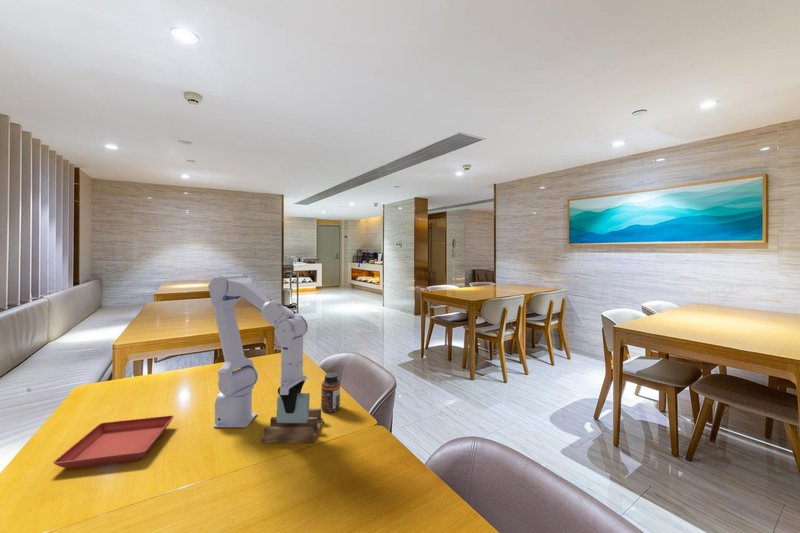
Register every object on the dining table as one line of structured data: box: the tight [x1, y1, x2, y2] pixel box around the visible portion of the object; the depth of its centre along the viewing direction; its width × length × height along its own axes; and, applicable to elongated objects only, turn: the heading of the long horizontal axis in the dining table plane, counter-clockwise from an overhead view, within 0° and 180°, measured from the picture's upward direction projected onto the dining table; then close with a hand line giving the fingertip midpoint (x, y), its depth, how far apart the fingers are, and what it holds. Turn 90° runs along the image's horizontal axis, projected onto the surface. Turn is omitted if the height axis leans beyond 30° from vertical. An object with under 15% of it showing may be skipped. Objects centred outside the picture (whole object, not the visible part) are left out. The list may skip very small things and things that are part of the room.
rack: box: [260, 408, 324, 444], centre depth 94 cm, size 14×12×4 cm
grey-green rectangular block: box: [276, 392, 311, 423], centre depth 91 cm, size 8×3×7 cm, turn 92°
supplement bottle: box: [320, 372, 341, 413], centre depth 108 cm, size 6×6×11 cm
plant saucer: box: [52, 415, 174, 470], centre depth 85 cm, size 18×18×3 cm
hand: (291, 409), depth 91 cm, fingers closed on grey-green rectangular block, 3 cm apart
